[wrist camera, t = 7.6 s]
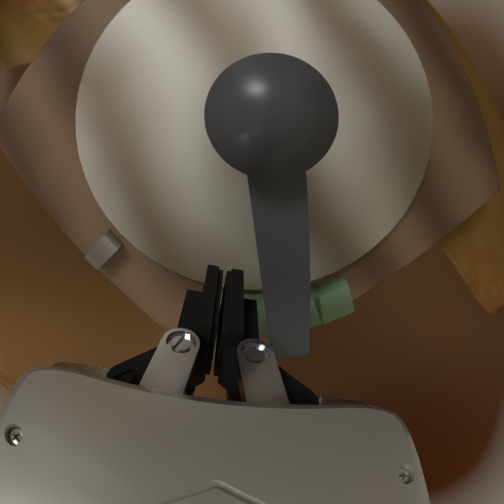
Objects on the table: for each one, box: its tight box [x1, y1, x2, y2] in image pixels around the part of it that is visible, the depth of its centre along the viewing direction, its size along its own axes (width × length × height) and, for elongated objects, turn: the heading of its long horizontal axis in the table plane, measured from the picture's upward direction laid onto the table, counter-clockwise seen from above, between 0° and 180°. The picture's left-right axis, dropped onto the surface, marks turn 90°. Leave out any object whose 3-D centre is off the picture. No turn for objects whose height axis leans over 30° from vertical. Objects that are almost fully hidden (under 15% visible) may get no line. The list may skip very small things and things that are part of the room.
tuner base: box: [0, 0, 500, 366], centre depth 13 cm, size 27×26×4 cm
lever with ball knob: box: [204, 53, 339, 359], centre depth 11 cm, size 12×4×6 cm, turn 7°
